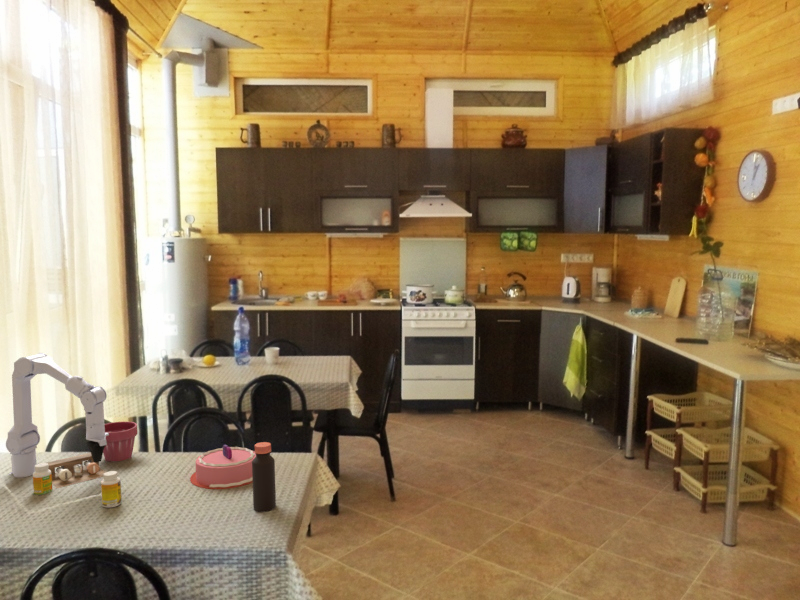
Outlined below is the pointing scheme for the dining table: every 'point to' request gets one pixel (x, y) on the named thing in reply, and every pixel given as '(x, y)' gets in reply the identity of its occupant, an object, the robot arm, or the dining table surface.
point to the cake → (224, 468)
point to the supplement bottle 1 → (42, 479)
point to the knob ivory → (64, 474)
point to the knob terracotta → (91, 467)
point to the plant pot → (119, 440)
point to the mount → (69, 464)
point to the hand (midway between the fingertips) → (97, 461)
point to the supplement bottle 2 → (111, 489)
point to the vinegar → (263, 478)
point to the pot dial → (78, 471)
